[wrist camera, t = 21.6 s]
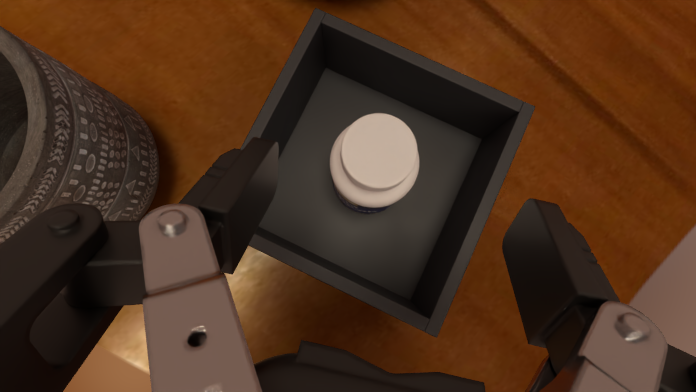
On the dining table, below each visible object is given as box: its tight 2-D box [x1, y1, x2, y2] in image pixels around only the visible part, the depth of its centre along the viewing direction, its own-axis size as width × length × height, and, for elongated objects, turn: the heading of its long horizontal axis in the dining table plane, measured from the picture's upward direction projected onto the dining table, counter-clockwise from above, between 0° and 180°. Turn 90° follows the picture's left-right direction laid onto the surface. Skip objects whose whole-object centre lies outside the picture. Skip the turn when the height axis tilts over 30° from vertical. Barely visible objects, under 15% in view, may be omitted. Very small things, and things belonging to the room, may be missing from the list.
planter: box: [0, 26, 160, 244], centre depth 21 cm, size 12×12×13 cm
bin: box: [240, 8, 535, 337], centre depth 25 cm, size 16×16×7 cm
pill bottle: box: [330, 113, 419, 214], centre depth 22 cm, size 5×5×10 cm
